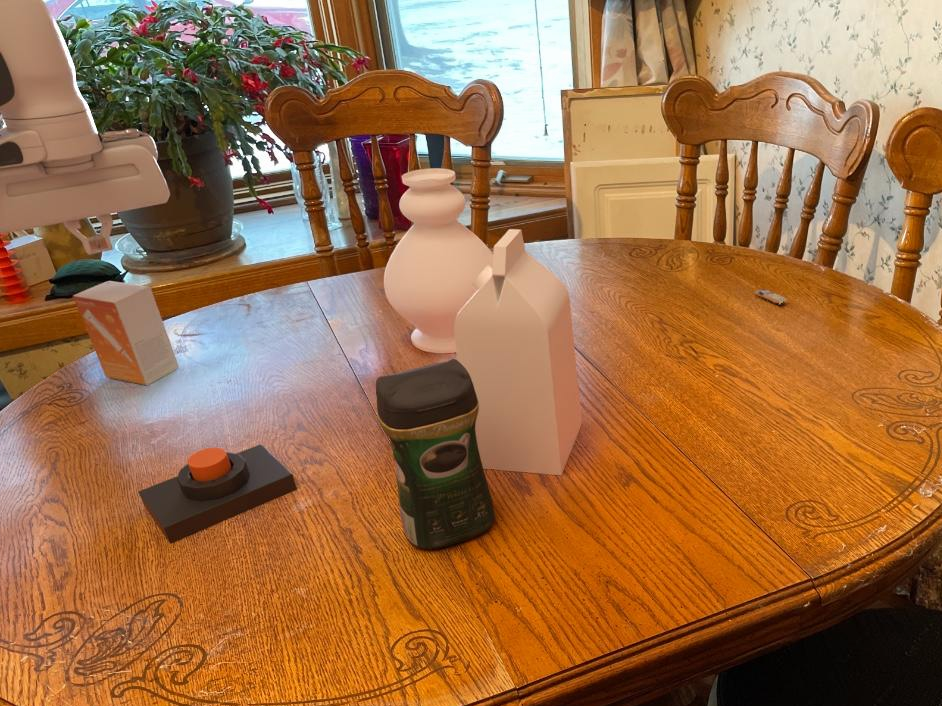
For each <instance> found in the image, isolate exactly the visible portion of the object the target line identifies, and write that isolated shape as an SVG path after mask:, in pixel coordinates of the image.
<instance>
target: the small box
mask: <svg viewBox="0 0 942 706" xmlns="http://www.w3.org/2000/svg"><path fill="white" fill-rule="evenodd" d="M72 298H73V300H74V303H75V305H76V308H77V310H78V312H79V315H80V317H81V320H82V322H83V324H84V327H85V330H86V332H87V334H88V337H89V339H90V342H91V344H92V346H93V349H94V352H95V354H96V356H97V358H98V361H99V363H100V364H99V365H100V366H101V368H102V371H103V373H104V376H105V378H106V379H107V378H108V379H114V380H119V381H124V382H129V383H133V384H137V385H142V386H146V387H148V386H149V385H151V384H153V383H155V382H157V381H158V380H160V379H162V378H163V377H165V376H167V375H169V374H171V373H172V372H174V371H176V370H178V369H179V368H180V366H179V363H178V361H177V358H176V355H175V352H174V349H173V346H172V343H171V341H170V338H169V335H168V333H167V329H166V327H165V323H164V321H163V318H162V316H161V313H160V310H159V307H158V305H157V302H156V299H155V297H154V294H153V290H152V288H151V287H150V286H147V285H141V284H135V283H132V282H131V283H130V282H120V281H115V280H114V281H113V280H107V281H104V282H102V283H99V284H97V285H94V286H92V287H89V288H87V289H85V290H83V291H80V292H78V293H76V294H73V295H72Z"/></svg>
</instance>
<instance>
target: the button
mask: <svg viewBox="0 0 942 706" xmlns="http://www.w3.org/2000/svg"><path fill="white" fill-rule="evenodd" d="M226 452H227V451H226V450H225V449H224V448H222V447H208V448H204V449H200V450H198V451H196V452H194V453H193V454H191V455H190V456H189V458H187V464H188V466H189V468H190V471H191V473H192V476H193V478H194V480H196V481H200V482H202V481H209V480H215V479H217V478H220V477H222V476H224V475H226V474H227V473H228V472H229V471H231V464H230V461H229V458H228V455H227V453H226Z"/></svg>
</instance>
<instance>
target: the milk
mask: <svg viewBox="0 0 942 706" xmlns="http://www.w3.org/2000/svg"><path fill="white" fill-rule="evenodd" d="M522 231H523V230H522V229H517V228H515V229H514V228H510V229H508V230H507V231H506V232H505V234H503V236H502V237H501V238H500V239H499V240H498V241H497V242H496V243H495V244H494V246H493V252H492V254H493V268H491V267H490V266H489V265H487V266H486V268H485V269H484V270H483V271H482V272H481V273H480V275H479V276H478V277H477V278H476V279H475V281H474V282H473V283H472V285H474V286H475V287H476V288H477V289H478V290H477V291H476V292H475V293H474V295H473V296H472V297H471V298H470V299H469V301H468V302H467V303H466V304H465V305H464V307H463V308H462V309H461V310H460V311H459V313H458V314H457V317H456V321H455V324H454V333H455V343H456V352H455V353H456V360H458V361H459V362H460V363H461V364H462V365H463V366H464V367H465V368H466V370H467V371H468V373H469V375H470V377H471V380H472V383H473V385H474V389H475V392H476V395H477V399H478V402H479V411H478V415H477V419H476V424H475V431H476V439H477V445H478V450H479V454H480V458H481V462H482V466H483V470H491V469H492V470H491V471H504V472H515V473H526V472H527V473H528V474H540V475H550V476H552V475H553V476H563V473H564V470H565V467H566V466H567V463H568V460H569V458H570V455H571V453H572V450H573V448H574V445H575V443H576V441H577V438H578V434H579V433H580V430H581V427H582V424H583V417H582V408H581V407H582V406H581V399H580V388H579V379H578V377H579V376H578V368H577V359H576V349H575V339H574V329H573V320H572V312H571V311H572V310H571V308H572V307H571V299H570V294H569V291H568V289H567V287H566V285H565V284H564V283H563V282H562V281H561V280H560V278H558V277H557V276H556V275H555V274H554V273H553V272H551V271H550V270H549V269H547V267H545V265H543V264H542V263H541V262H539V261H538V260H537V259H536V258H535V257H533V256H532V255H531V254H529V252H527V251H526V247H525V242H524V236H523V232H522ZM493 469H494V470H493Z"/></svg>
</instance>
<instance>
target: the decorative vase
mask: <svg viewBox="0 0 942 706" xmlns="http://www.w3.org/2000/svg"><path fill="white" fill-rule="evenodd" d="M456 177H457V176H456V172H455V171H454V170H452V169H449V168H442V167H441V168H440V167H439V168H438V167H436V168H435V167H433V168H422V169H421V168H420V169H415V170H410V171H408V172H406V173H403V174H402V175H401V181H402V184H403V185H405V186H407V187H409V188H408V189H407V190H406V191H405V192H404V193H403V194H402V196H401V197H400V199H399V203H398V205H399V206H398V207H399V210H400V213H401V214H402V216H404V217H405V218H406V219H407V220H409V221H410V222H411V223H412V225H411V226H410V228H409V229H408V230H407V231H406V232H405V234H403V236H402V237H401V238H400V240H399V241H398V243H397V245H396V246H395V247H394V249H393V251H392V253H391V254H390V257H389V258H388V261H387V264H386V266H385V269H384V274H383V288H384V293H385V297H386V299H387V301H388V303H389V304H390V306H391V307H392V308H393V309H394V310H395V311H396V312H397V313H398V314H399V316H401V317H402V318H403V319H404V320H405V321H407V322H408V323H409V324H410V325H412V326H413V327H414V328H415V329H414V330H413V331H412V332H411V335H410V340H411V343H412V345H413V346H414V347H415V348H416V349H418V350H421V351H423V352H426V353H430V354H431V353H432V354H454V353H456V343H455V333H454V324H455V321H456V317H457V314H458V313H459V311H460V310H461V309H462V308H463V307H464V305H465V304H466V303H467V302H468V301H469V299H470V298H471V297H472V296H473V295H474V293H475V292H476V291H477V290H478V289H477V288H476V287H475V286H474V285H472V283H473V282H474V281H475V279H476V278H477V277H478V276H479V275H480V273H481V272H482V271H483V270H484V269H485V268H486V266H487V265H489V266H490V267H491V268H493V252H492V251H491V249H490V248H489V246H487V245H486V244H485V242H484V241H483V240H482V239H480V238H479V237H478V235H476V234H475V233H474V232H473V231H471V230H470V229H469V228H468V227H466V226H465V225H464V224H462V222H460V221H458V218H459V217H460V216H461V215H462V213H463V212H464V210H465V208H466V205H467V202H466V201H467V200H466V198H465V196H464V194H463V193H462V192H461V190H459V189H458V188H457V187H455V186H454V185H452V184H451V183H453V182H454V181H456V179H457V178H456Z"/></svg>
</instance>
